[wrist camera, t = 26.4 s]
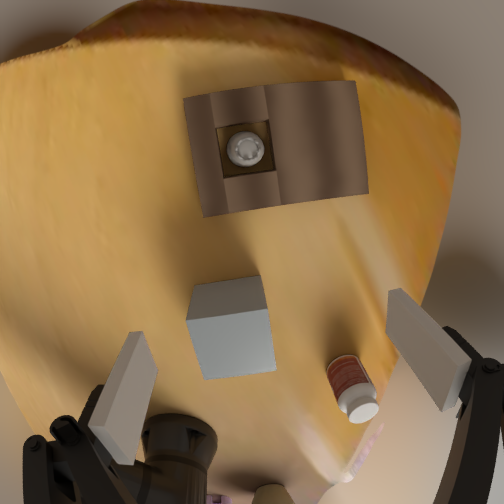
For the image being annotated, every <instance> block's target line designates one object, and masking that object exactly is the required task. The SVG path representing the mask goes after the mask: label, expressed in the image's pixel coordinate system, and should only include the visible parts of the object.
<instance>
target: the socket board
mask: <svg viewBox="0 0 504 504" xmlns="http://www.w3.org/2000/svg"><path fill="white" fill-rule="evenodd" d="M183 101H184V108H185V114H186V121H187V127H188V133H189V139H190V145H191V151H192V157H193V163H194V169H195V174H196V180H197V186H198V191H199V196H200V202H201V207H202V212H203V218H205V217H211V216H217V215H223V214H229V213H235V212H241V211H247V210H253V209H260V208H266V207H273V206H280V205H286V204H293V203H300V202H307V201H315V200H322V199H330V198H337V197H345V196H353V195H362V194H369V190H368V176H367V165H366V155H365V145H364V136H363V128H362V121H361V114H360V107H359V100H358V94H357V88H356V82H355V81H315V82H298V83H284V84H274V85H264V86H255V87H247V88H240V89H233V90H227V91H220V92H214V93H209V94H203V95H198V96H193V97H188V98H183ZM265 121H266V124H267V131H268V137H269V144H270V151H271V158H272V165H273V169H271V170H264V171H257V172H250V173H244V174H237V175H231V176H225V177H224V172H223V166H222V160H221V154H220V148H219V142H218V135H217V129H218V128H224V127H230V126H236V125H243V124H250V123H257V122H265Z"/></svg>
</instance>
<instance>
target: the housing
mask: <svg viewBox="0 0 504 504" xmlns="http://www.w3.org/2000/svg"><path fill="white" fill-rule="evenodd" d="M186 323H187V327H188V330H189V333H190V337H191V340H192V343H193V346H194V350H195V353H196V356H197V359H198V362H199V365H200V368H201V371H202V374H203V377H204V380H209V379H218V378H227V377H235V376H242V375H250V374H256V373H263V372H269V371H275V370H276V363H275V356H274V349H273V342H272V335H271V328H270V321H269V314H268V308H267V303H266V298H265V293H264V289H263V284H262V279H261V275H259V276H252V277H246V278H240V279H233V280H227V281H221V282H214V283H207V284H201V285H195V286H194V289H193V293H192V297H191V301H190V305H189V309H188V313H187V317H186Z"/></svg>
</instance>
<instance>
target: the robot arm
mask: <svg viewBox="0 0 504 504" xmlns="http://www.w3.org/2000/svg"><path fill="white" fill-rule="evenodd" d="M385 333H386V334H387V335H388V337H389V338H390V340H391V341H392V342H393V344H394V345H395V346H396V348H397V349H398V350H399V352H400V353H401V355H402V356H403V357H404V359H405V360H406V362H407V363H408V364H409V366H410V367H411V369H412V370H413V372H414V373H415V374H416V376H417V377H418V379H419V380H420V382H421V383H422V384H423V386H424V387H425V389H426V390H427V392H428V393H429V395H430V396H431V397H432V399H433V401H434V402H435V404H436V405H437V407H438V408H439V410H440V411H441V412H443V411H445V410H447V409H449V408H452V407H454V406H455V404H456V402H457V399H458V397H459V398H460V399H461V401H462V405H461V407H460V409H459V412H458V414H457V416H456V418H458V422H457V426H456V431H455V435H454V439H453V443H452V447H451V450H450V454H449V458H448V461H447V465H446V468H445V471H444V474H443V477H442V480H441V483H440V486H439V489H438V492H437V494H436V497H435V500H434V502H433V504H487V500H488V496H489V492H490V488H491V483H492V479H493V473H494V468H495V462H496V456H497V450H498V443H499V435H500V426H501V432H502V439H503V446H504V364H500V363H499V362H498V361H497V360H495V359H492V358H483V357H482V356H481V355H480V354H479V353H478V352H477V351H476V350H475V349H474V348H473V347H472V346H471V345H470V344H469V343H468V342H467V341H466V340H465V339H464V338H462V336H461V335H460V334H459V333H458V332H457V331H456V330H454V329H452V328H450V327H448V326H446V327H443V328H441V327H440V326H439V325H438V324H437V323H436V322H435V321H434V320H433V319H432V318H431V317H430V316H429V315H428V314H427V313H426V312H425V311H424V310H423V309H422V308H421V307H420V306H419V305H418V304H417V303H416V302H415V301H414V300H413V299H412V298H411V297H410V296H409V295H408V294H407V293H406V292H404V291H403V290H402V289H401V288H398V289H394V290H390V291H389V292H388V308H387V321H386V332H385ZM157 372H158V369H157V367H156V364H155V362H154V359H153V357H152V354H151V352H150V349H149V347H148V344H147V342H146V339H145V336H144V334H143V331H138V332H130V333H129V335H128V337H127V339H126V341H125V343H124V345H123V347H122V349H121V351H120V353H119V355H118V358H117V360H116V362H115V364H114V366H113V368H112V370H111V373H110V375H109V377H108V379H107V381H106V384H105V385H98V386H97V387H96V388H95V389H94V390H93V391H92V392H91V394H90V396H89V398H88V401H87V403H86V405H85V407H84V409H83V411H82V414H81V416H80V418H79V420H78V423H77V421H76V420H75V419H74V417H72V416H70V415H63V416H60V417H58V418H57V419H55V420H54V421H53V422H52V424H51V426H50V433H51V434H52V436H53V437H54V438H55V439H56V441H49V442H47V441H46V439H45V438H44V437H43V436H41V435H33V436H31V437H29V438H28V439H27V440H26V441H25V443H24V446H23V496H24V497H23V498H24V504H206V500H207V470H208V468H209V466H210V464H211V462H212V460H213V458H214V455H215V453H216V451H217V441H218V439H217V435H216V433H215V431H214V430H213V429H212V428H211V427H210V426H209V425H207V424H206V423H204V422H202V421H200V420H198V419H195V418H192V417H189V416H185V415H179V414H161V415H156V416H153V417H151V418H149V419H148V420H147V421H146V422H145V423H144V420H145V416H146V412H147V409H148V405H149V401H150V397H151V394H152V390H153V387H154V383H155V379H156V376H157ZM143 424H144V425H143ZM142 428H143V429H142ZM141 432H142V433H141ZM140 436H141V439H142V446H143V451H144V457H145V462H144V463H143V462H141V461H138V460H136V459H135V456H136V452H137V448H138V444H139V440H140Z"/></svg>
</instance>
